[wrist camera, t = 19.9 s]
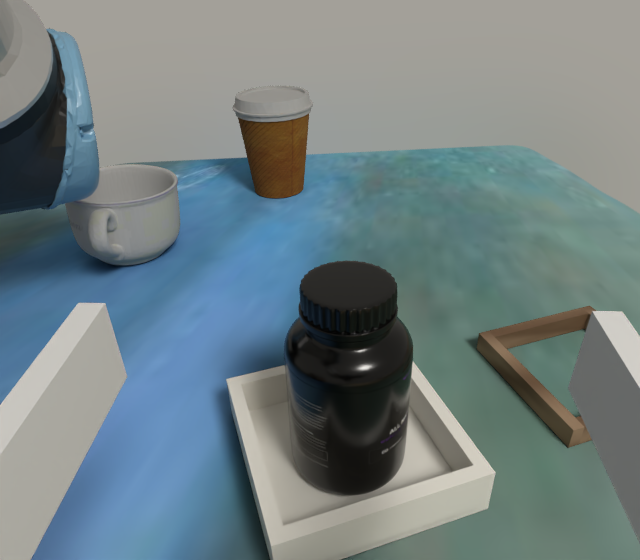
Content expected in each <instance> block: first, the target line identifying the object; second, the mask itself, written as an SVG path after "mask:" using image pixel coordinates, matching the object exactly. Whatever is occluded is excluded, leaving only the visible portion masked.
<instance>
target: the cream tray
mask: <svg viewBox="0 0 640 560" xmlns="http://www.w3.org/2000/svg"><path fill="white" fill-rule="evenodd" d="M226 380H227V386H228V392H229V398H230V404H231V410H232V415H233V419H234V422H235V426H236V430H237V434H238V438H239V442H240V445H241V449H242V453H243V457H244V461H245V465H246V468H247V472H248V476H249V480H250V484H251V488H252V492H253V495H254V499H255V503H256V507H257V511H258V515H259V518H260V522H261V526H262V530H263V534H264V538H265V541H266V545H267V549H268V553H269V557H270V560H341V559H344V558H347V557H349V556H352V555H355V554H358V553H361V552H364V551H367V550H370V549H373V548H375V547H378V546H381V545H384V544H387V543H390V542H393V541H396V540H399V539H401V538H404V537H407V536H410V535H413V534H416V533H419V532H422V531H425V530H427V529H430V528H433V527H436V526H439V525H442V524H445V523H448V522H451V521H453V520H456V519H459V518H462V517H465V516H468V515H471V514H474V513H477V512H479V511H482V510H485V509H488V505H489V500H490V496H491V491H492V487H493V482H494V478H495V471H494V470H493V469H492V467H491V466H490V465H489V463H488V462H487V461H486V459H485V458H484V457H483V455H482V454H481V452H480V451H479V450H478V448H477V447H476V446H475V444H474V443H473V442H472V440H471V439H470V438H469V436H468V435H467V434H466V432H465V431H464V430H463V428H462V427H461V425H460V424H459V423H458V421H457V420H456V419H455V417H454V416H453V415H452V413H451V412H450V411H449V409H448V408H447V407H446V405H445V404H444V402H443V401H442V400H441V398H440V397H439V396H438V394H437V393H436V392H435V390H434V389H433V388H432V386H431V385H430V384H429V382H428V381H427V379H426V378H425V377H424V375H423V374H422V373H421V371H420V370H419V369H418V367H417V366H416V365H415V363H414V362H413V363H412V376H411V388H410V400H409V412H408V424H407V436H406V446H405V454H404V459H403V463H402V465H401V467H400V469H399V471H398V472H397V474H396V475H395V476H394V477H393V479H392V480H390V481H389V482H388V483H387V484H386V485H384V486H383V487H381V488H379V489H377V490H375V491H373V492H369V493H366V494H362V495H353V496H345V495H337V494H333V493H329V492H326V491H324V490H321V489H319V488H317V487H316V486H314V485H313V484H311V483H310V482H309V481H308V480H307V479H305V478H304V476H303V475H302V474H301V473H300V471H299V470H298V468H297V466H296V464H295V462H294V459H293V455H292V449H291V439H290V427H289V414H288V401H287V388H286V375H285V365H283V366H279V367H275V368H270V369H266V370H262V371H258V372H254V373H250V374H246V375H241V376H237V377H233V378H229V379H226Z"/></svg>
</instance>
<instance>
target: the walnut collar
mask: <svg viewBox="0 0 640 560" xmlns="http://www.w3.org/2000/svg"><path fill="white" fill-rule="evenodd" d="M592 311H596V310H595V309H593V308H592V307H591V306H587V307H583V308H579V309H575V310H571V311H567V312H563V313H559V314H555V315H551V316H547V317H542V318H538V319H534V320H530V321H526V322H522V323H518V324H514V325H510V326H506V327H502V328H498V329H494V330H490V331H486V332H482V333H479V338H478V344H477V350H478V351H479V352H480V353H481V354H482V355H483V356H484V357H485V358H486V359H487V360H488V362H489V363H490V364H491V365H492V366H493V367H494V368H495V369H496V370H497V371H498V372H499V373H500V374H501V376H502V377H503V378H504V379H505V380H506V381H507V382H508V383H509V384H510V385H511V386H512V387H513V389H514V390H515V391H516V392H517V393H518V394H519V395H520V396H521V397H522V398H523V399H524V400H525V402H526V403H527V404H528V405H529V406H530V407H531V408H532V409H533V410H534V411H535V412H536V413H537V414H538V416H539V417H540V418H541V419H542V420H543V421H544V422H545V423H546V424H547V425H548V426H549V427H550V429H551V430H552V431H553V432H554V433H555V434H556V435H557V436H558V437H559V438H560V439H561V440H562V442H563V443H564V444H565V445H566V446H567V447H568V448H569V447H572V446H575V445H578V444H581V443H584V442H587V441H590V440H592V439H591V437H590V434H589V432H588V430H587V428H586V426H585V424H584V421H583V419H582V417H581V416H579V417H576V418H575V417H574V416H573V415H572V414H571V413H570V412H569V411H568V410H567V409H566V408H565V407H564V406H563V405H562V404H561V403H560V402H559V401H558V400H557V399H556V398H555V397H554V396H553V395H552V394H551V393H550V392H549V391H548V390H547V389H546V388H545V387H544V386H543V385H542V384H541V383H540V382H539V381H538V380H537V379H536V378H535V377H534V376H533V375H532V374H531V373H530V372H529V371H528V370H527V369H526V368H525V367H524V366H523V365H522V364H521V363H520V362H519V361H518V360H517V359H516V358H515V357H514V356H513V355H512V354H511V353H510V352H509V351H508V350H507V349H508V348H512V347H516V346H520V345H523V344H527V343H531V342H535V341H539V340H543V339H546V338H550V337H554V336H558V335H562V334H566V333H569V332H573V331H577V330H581V329H585V330H586V329H587V326H588V323H589V319H590V316H591V313H592Z"/></svg>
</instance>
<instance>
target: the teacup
mask: <svg viewBox="0 0 640 560" xmlns="http://www.w3.org/2000/svg"><path fill="white" fill-rule="evenodd" d="M99 172H100V176H99V184H98V187H97V189H96V190H95V192H94V193H93V194H92V195H91V196H89V197H87V198H85V199H82V200H78V201H74V202H69V203H65V206H66V210H67V214H68V218H69V221H70V225H71V228H72V231H73V234H74V237H75V239H76V241H77V243H78V245H79V246H80V247H81V248H82V250H84V251H85V252H86V253H87V254H89V255H91V256H93V257H95V258H98V259H100V260H101V261H103V262H106V263H109V264H113V265H136V264H141V263H145V262H148V261H150V260H153V259H155V258H156V257H158V256H160V255H161V254H162V253H163V252H164V251H165V250H166V249H167V248H168V247H170V246H171V245H172V244H173V243H174V241H175V240H176V238H177V236H178V233H179V229H180V212H179V200H178V191H177V184H178V180H177V177H176V175H175V174H174V173H173V172H171V171H169V170H167V169H164V168H161V167H156V166H149V165H140V164H126V165H113V166H106V167H100V168H99Z"/></svg>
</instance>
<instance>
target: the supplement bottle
mask: <svg viewBox="0 0 640 560" xmlns="http://www.w3.org/2000/svg"><path fill="white" fill-rule="evenodd" d="M397 311H398V307H397V283H396V282H395V279H394V278H393V277H392V276H391V274H390V273H388V272H387V271H386V270H385V269H382V268H380V267H379V266H375V265H373V264H369V263H365V262H358V261H337V262H332V263H327V264H324V265H321V266H319V267H316V268H314V269H313V270H311V271H309V272H308V274H306V275H304V278H303V279H302V280H301V284H300V303H299V317H298V318H297V319H296V320H295V322H294V323H293V324H292V326H291V327H290V329H289V331H288V333H287V335H286V338H285V342H284V362H285V375H286V388H287V401H288V414H289V427H290V439H291V449H292V455H293V459H294V462H295V464H296V466H297V468H298V470H299V471H300V473H301V474H302V475H303V476H304V478H305V479H307V480H308V481H309V482H310V483H311V484H313V485H314V486H316V487H317V488H319V489H321V490H324V491H326V492H329V493H333V494H337V495H345V496H353V495H362V494H366V493H369V492H373V491H375V490H377V489H379V488H381V487H383V486H384V485H386V484H387V483H388V482H389V481H390V480H392V479H393V477H394V476H395V475H396V474H397V472H398V471H399V469H400V467H401V465H402V463H403V459H404V454H405V446H406V436H407V424H408V412H409V400H410V388H411V376H412V363H413V342H412V339H411V336H410V333H409V331H408V329H407V328H406V326H405V325H404V324H403V322H402V321H401V320H400V319H399V318H398V317H397Z"/></svg>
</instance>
